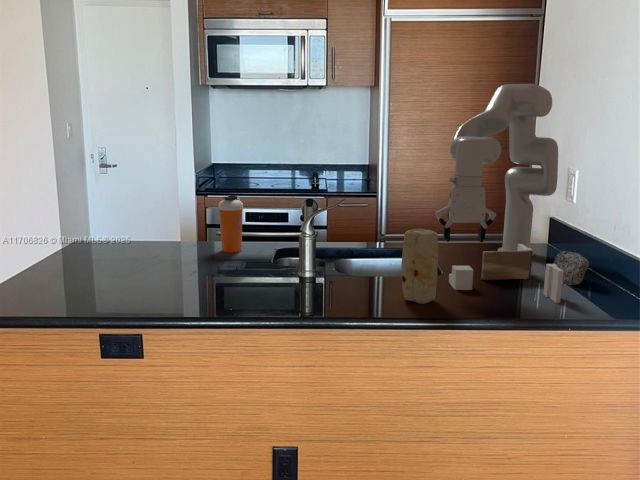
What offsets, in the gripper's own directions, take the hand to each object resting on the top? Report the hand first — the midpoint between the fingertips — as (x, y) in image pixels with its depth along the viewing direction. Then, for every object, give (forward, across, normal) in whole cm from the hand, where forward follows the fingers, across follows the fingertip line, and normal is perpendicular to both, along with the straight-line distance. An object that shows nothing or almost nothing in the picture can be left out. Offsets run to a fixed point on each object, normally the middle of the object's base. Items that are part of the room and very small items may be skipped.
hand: (463, 241), depth 169 cm
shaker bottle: (+14, -74, +44) cm, 87 cm away
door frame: (+14, +23, +3) cm, 27 cm away
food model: (+14, -15, -12) cm, 24 cm away
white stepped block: (+14, 0, +2) cm, 14 cm away
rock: (+14, +35, +8) cm, 39 cm away
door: (+14, +16, +9) cm, 23 cm away
